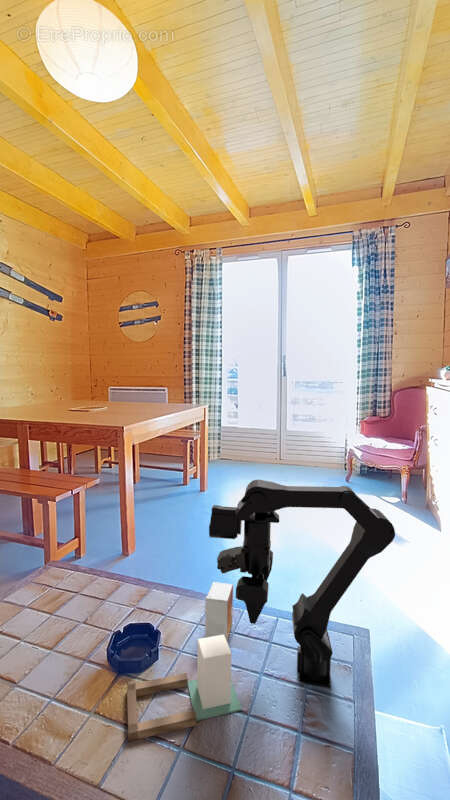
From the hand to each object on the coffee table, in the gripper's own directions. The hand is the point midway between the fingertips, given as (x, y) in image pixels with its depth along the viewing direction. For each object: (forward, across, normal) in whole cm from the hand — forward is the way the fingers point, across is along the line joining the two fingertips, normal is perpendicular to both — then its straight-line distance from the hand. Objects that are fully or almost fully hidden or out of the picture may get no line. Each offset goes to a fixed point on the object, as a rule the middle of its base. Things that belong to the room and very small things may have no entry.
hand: (255, 609), depth 81 cm
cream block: (+13, +9, -7) cm, 17 cm away
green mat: (+13, +9, -7) cm, 17 cm away
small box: (+13, -10, -10) cm, 19 cm away
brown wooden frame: (+13, +14, -16) cm, 25 cm away
